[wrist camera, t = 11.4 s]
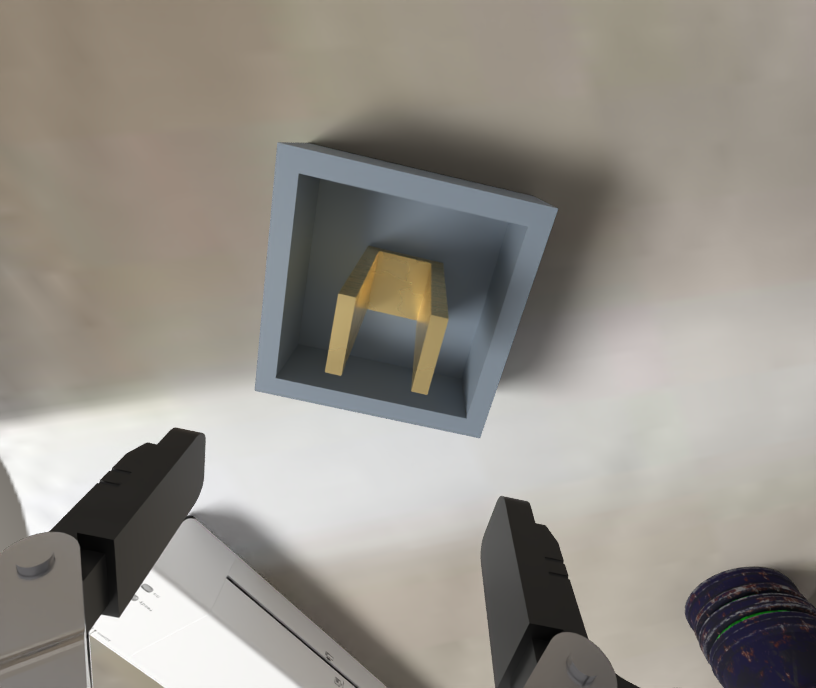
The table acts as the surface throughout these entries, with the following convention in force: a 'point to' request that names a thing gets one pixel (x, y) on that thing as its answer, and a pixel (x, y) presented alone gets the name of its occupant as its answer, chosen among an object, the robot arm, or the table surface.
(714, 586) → the storage jar
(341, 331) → the bracket
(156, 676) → the laminator
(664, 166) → the table surface
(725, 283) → the table surface
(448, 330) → the box
